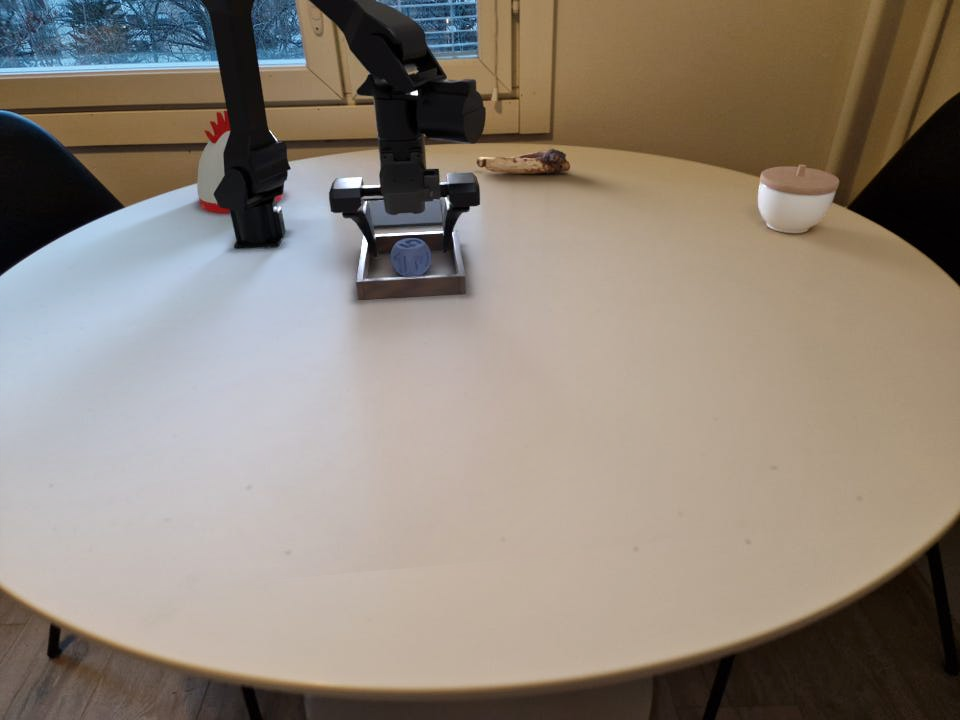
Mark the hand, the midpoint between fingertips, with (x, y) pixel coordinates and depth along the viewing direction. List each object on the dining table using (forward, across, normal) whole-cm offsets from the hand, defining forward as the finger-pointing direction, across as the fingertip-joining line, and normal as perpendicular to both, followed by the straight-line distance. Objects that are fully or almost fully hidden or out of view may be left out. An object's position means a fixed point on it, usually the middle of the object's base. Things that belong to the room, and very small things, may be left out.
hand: (410, 254), depth 87 cm
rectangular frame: (+2, 0, 0) cm, 2 cm away
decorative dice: (+3, 0, 0) cm, 3 cm away
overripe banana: (+3, +22, +44) cm, 49 cm away
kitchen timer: (+3, -30, +34) cm, 45 cm away
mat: (+2, -1, +23) cm, 23 cm away
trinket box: (+3, +58, +9) cm, 59 cm away
